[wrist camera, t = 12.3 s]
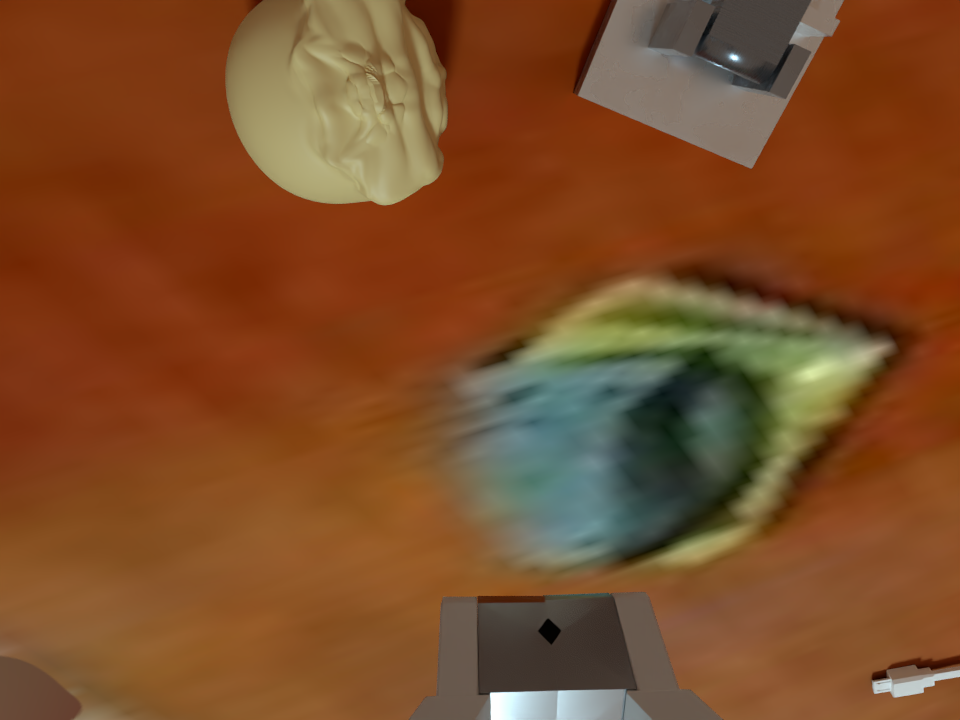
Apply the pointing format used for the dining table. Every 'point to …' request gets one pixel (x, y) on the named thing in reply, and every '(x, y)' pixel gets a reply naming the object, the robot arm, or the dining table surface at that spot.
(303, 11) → the sculpture
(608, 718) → the robot arm
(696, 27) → the grey dish rack
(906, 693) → the charging cable
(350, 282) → the dining table surface
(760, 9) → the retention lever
